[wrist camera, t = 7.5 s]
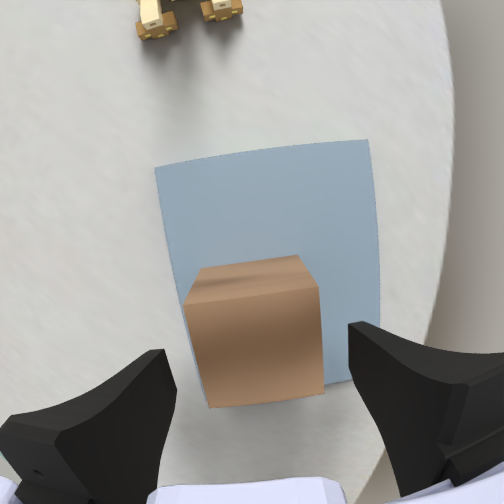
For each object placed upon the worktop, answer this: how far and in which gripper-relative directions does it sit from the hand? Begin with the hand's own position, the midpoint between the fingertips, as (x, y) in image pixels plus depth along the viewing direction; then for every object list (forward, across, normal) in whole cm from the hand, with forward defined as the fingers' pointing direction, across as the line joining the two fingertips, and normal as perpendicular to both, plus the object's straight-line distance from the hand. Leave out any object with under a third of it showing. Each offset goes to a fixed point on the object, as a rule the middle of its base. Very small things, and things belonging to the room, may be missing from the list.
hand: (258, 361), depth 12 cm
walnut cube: (+5, 0, 0) cm, 5 cm away
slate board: (+6, -2, -1) cm, 6 cm away
